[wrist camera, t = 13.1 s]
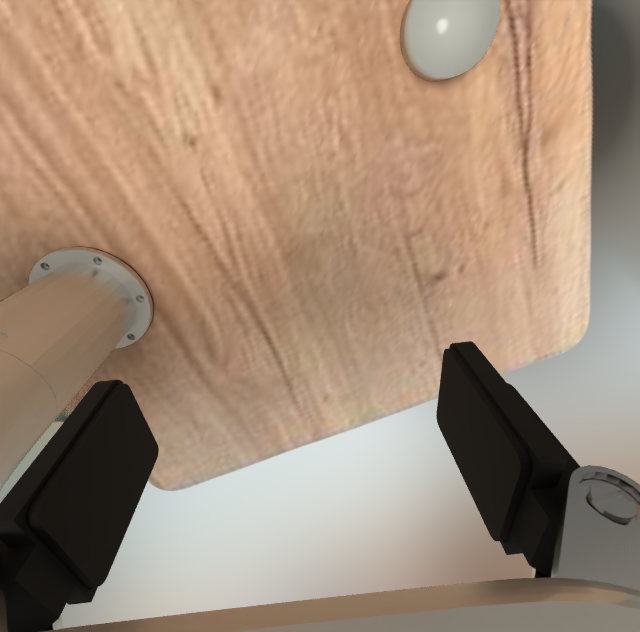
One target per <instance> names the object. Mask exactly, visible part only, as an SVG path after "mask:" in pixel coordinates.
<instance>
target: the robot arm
mask: <svg viewBox="0 0 640 632" xmlns="http://www.w3.org/2000/svg"><path fill="white" fill-rule="evenodd" d="M142 296H143V297H142ZM152 316H153V303H152V299H151V296H150V293H149V291H148V289H147V287H146V285H145V283H144V282H143V281H142V279H141V278H140V277H139V276H138V274H137V273H136V272H135V271H133V270H132V269H131V268H130V267H129V266H128V265H127V264H125V263H124V262H122V261H121V260H119V259H118V258H116V257H114V256H112V255H110V254H108V253H105V252H102V251H99V250H96V249H92V248H86V247H67V248H62V249H58V250H56V251H54V252H52V253H49V254H48V255H46V256H44V257H43V258H41V259H40V260H39V261H38V262H37V263H36V264H35V265H34V267H33V269H32V270H31V272H30V275H29V280H28V286H27V287H25V288H23V289H21V290H20V291H18V292H16V293H15V294H13V295H11V296H10V297H8V298H6V299H5V300H0V490H1V489H2V487H3V485H4V484H5V483H6V481H7V480H8V479H9V477H10V476H11V474H12V473H13V472H14V470H15V469H16V468H17V466H18V465H19V464H20V462H21V461H22V460H23V458H24V457H25V456H26V455H27V453H28V452H29V451H30V450H31V448H32V447H33V446H34V444H35V443H36V442H37V441H38V440H39V438H40V437H41V436H42V435H43V434H44V432H45V431H46V430H47V429H48V427H49V426H50V425H51V424H52V423H53V422H54V420H55V419H56V418H57V417H58V416H59V414H60V413H61V412H62V411H63V409H64V408H65V407H66V406H67V405H68V403H69V402H70V401H71V400H72V399H73V397H74V396H75V395H76V394H77V393H78V391H79V390H80V389H81V388H82V386H83V385H84V384H85V383H86V382H87V380H88V379H89V378H90V377H91V376H92V374H93V373H94V372H95V371H96V369H97V368H98V367H99V366H100V365H101V363H102V362H103V361H104V360H105V359H106V357H107V356H108V355H109V354H110V352H111V351H112V350H113V349H119V348H123V347H126V346H128V345H131V344H133V343H134V342H136V341H137V340H139V339H140V338H141V337H142V336H143V334H144V333H145V332H146V330H147V329H148V328H149V326H150V323H151V321H152ZM437 422H438V425H439V428H440V430H441V432H442V434H443V436H444V438H445V440H446V442H447V445H448V447H449V449H450V451H451V453H452V455H453V457H454V459H455V462H456V464H457V465H458V468H459V470H460V472H461V474H462V476H463V478H464V480H465V482H466V485H467V487H468V489H469V491H470V493H471V495H472V497H473V500H474V501H475V504H476V506H477V508H478V510H479V512H480V514H481V517H482V519H483V521H484V523H485V525H486V527H487V529H488V531H489V533H490V535H491V537H492V538H493V540H495V541H500V542H501V544H502V546H503V548H504V551H505V553H506V555H511V554H519V553H523V554H524V556H525V558H526V560H527V562H528V563H529V565H530V566H532V567H533V570H532V575H531V578H521V579H507V580H496V581H484V582H473V583H461V584H450V585H439V586H431V587H421V588H413V589H403V590H394V591H384V592H375V593H366V594H357V595H347V596H338V597H330V598H320V599H311V600H303V601H294V602H285V603H276V604H267V605H258V606H250V607H241V608H232V609H223V610H214V611H206V612H197V613H189V614H180V615H172V616H163V617H155V618H146V619H139V620H130V621H121V622H113V623H105V624H96V625H88V626H80V627H72V628H65V629H63V624H62V619H61V613H62V611H63V609H64V607H65V605H66V603H68V604H79V603H87V602H91V601H92V599H93V597H94V595H95V592H96V590H97V587H98V586H100V585H102V584H103V583H104V581H105V580H106V578H107V576H108V573H109V571H110V569H111V566H112V564H113V561H114V559H115V557H116V554H117V552H118V549H119V547H120V545H121V542H122V540H123V538H124V535H125V533H126V531H127V528H128V526H129V524H130V521H131V519H132V516H133V514H134V512H135V509H136V507H137V505H138V502H139V500H140V497H141V495H142V493H143V490H144V488H145V485H146V483H147V481H148V479H149V476H150V474H151V471H152V469H153V467H154V464H155V462H156V460H157V457H158V445H157V442H156V440H155V438H154V436H153V434H152V432H151V430H150V428H149V426H148V424H147V422H146V420H145V418H144V416H143V414H142V412H141V410H140V408H139V406H138V403H137V401H136V399H135V397H134V395H133V393H132V391H131V389H130V387H129V386H128V385H127V384H123V382H122V381H120V380H110V381H101V382H97V383H95V384H94V385H93V386H92V388H91V389H90V390H89V391H88V393H87V394H86V395H85V396H84V398H83V399H82V400H81V402H80V403H79V404H78V405H77V407H76V408H75V409H74V410H73V412H72V413H71V414H70V416H69V417H68V418H67V419H66V421H65V422H64V423H63V425H62V426H61V427H60V428H59V430H58V431H57V432H56V434H55V435H54V436H53V437H52V438H51V440H50V441H49V442H48V444H47V445H46V446H45V447H44V449H43V450H42V451H41V452H40V454H39V455H38V456H37V457H36V459H35V460H34V461H33V463H32V464H31V465H30V466H29V468H28V469H27V470H26V471H25V473H24V474H23V475H22V477H21V478H20V479H19V480H18V482H17V483H16V484H15V485H14V487H13V488H12V489H11V491H10V492H9V493H8V494H7V496H6V497H5V498H4V499H3V501H2V502H1V503H0V632H640V485H639V484H638V483H636V482H635V481H634V480H632V479H630V478H629V477H627V476H625V475H623V474H621V473H619V472H617V471H615V470H612V469H608V468H605V467H600V466H590V465H589V466H584V467H580V466H579V465H578V463H577V462H576V461H575V460H574V459H573V457H572V456H571V455H570V454H569V453H568V451H567V450H566V449H565V448H564V447H563V445H562V444H561V443H560V442H559V441H558V439H557V438H556V437H555V436H554V435H553V433H552V432H551V431H550V430H549V429H548V428H547V426H546V425H545V424H544V423H543V421H542V420H541V419H540V418H539V417H538V415H537V414H536V413H535V412H534V411H533V409H532V408H531V407H530V406H529V405H528V403H527V402H526V401H525V400H524V399H523V398H522V396H521V395H520V394H519V393H518V391H517V390H516V389H515V388H514V387H513V386H512V385H510V384H508V383H506V382H505V381H504V379H503V378H502V377H501V376H500V374H499V373H498V372H497V371H496V370H495V368H494V367H493V366H492V365H491V363H490V362H489V361H488V360H487V358H486V357H485V356H484V355H483V354H482V352H481V351H480V350H479V349H478V347H477V346H476V345H475V344H474V343H473V342H471V341H470V342H461V343H452V344H451V345H450V347H449V349H445V350H444V354H443V363H442V372H441V380H440V389H439V398H438V407H437Z"/></svg>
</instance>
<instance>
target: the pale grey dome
mask: <svg viewBox="0 0 640 632" xmlns="http://www.w3.org/2000/svg"><path fill="white" fill-rule="evenodd" d="M499 14H500V0H410V1H409V3H408V5H407V7H406V9H405V12H404V14H403V18H402V22H401V28H400V45H401V51H402V55H403V57H404V60H405V62H406V64H407V66H408V67H409V68H410V70H411V71H412V72H413V73H414V74H415V75H417V76H418V77H420V78H422V79H424V80H428V81H441V80H445V79H448V78H451V77H454V76H457V75H460V74H462V73H464V72H466V71H468V70H469V69H471V68H472V67H473V66H474V65H476V64H477V63H478V62H479V61H480V60H481V58H482V57H483V56H484V54H485V53H486V52H487V50H488V48H489V47H490V45H491V43H492V41H493V38H494V36H495V33H496V30H497V26H498V21H499Z"/></svg>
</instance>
